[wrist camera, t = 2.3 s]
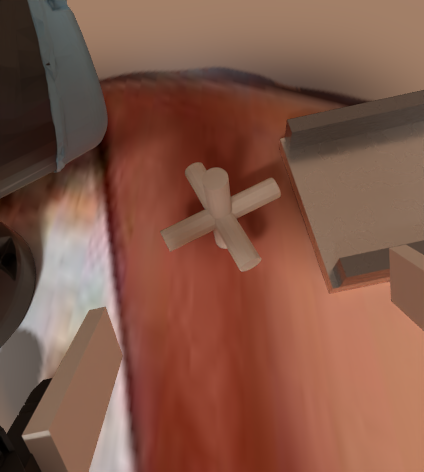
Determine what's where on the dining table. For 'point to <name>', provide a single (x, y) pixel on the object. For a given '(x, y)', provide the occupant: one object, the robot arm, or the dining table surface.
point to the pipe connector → (221, 213)
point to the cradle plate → (359, 185)
